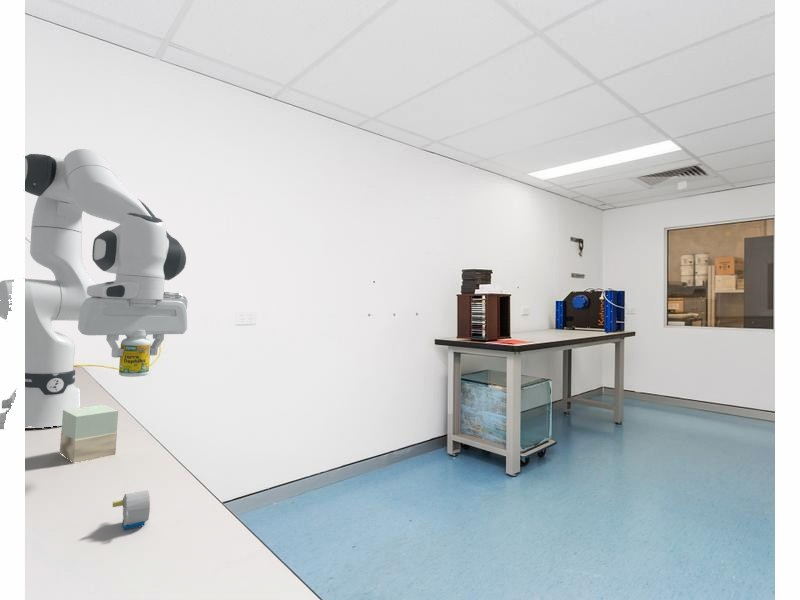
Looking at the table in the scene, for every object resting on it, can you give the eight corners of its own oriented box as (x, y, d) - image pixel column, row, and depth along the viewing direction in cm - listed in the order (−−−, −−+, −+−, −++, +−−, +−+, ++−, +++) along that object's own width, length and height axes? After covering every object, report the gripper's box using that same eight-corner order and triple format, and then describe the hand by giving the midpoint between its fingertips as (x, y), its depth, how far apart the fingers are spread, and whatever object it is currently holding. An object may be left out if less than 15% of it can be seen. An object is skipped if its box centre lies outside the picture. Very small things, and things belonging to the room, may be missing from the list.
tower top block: (61, 432, 97) (63, 409, 97) (102, 425, 103) (103, 404, 103) (74, 440, 92) (76, 416, 92) (116, 432, 99) (118, 410, 99)
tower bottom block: (59, 455, 96) (61, 432, 96) (100, 446, 103) (101, 425, 103) (73, 464, 92) (75, 440, 92) (115, 454, 98) (116, 432, 98)
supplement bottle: (147, 372, 94) (150, 328, 95) (149, 376, 90) (152, 330, 90) (118, 373, 92) (121, 327, 92) (118, 377, 87) (122, 330, 87)
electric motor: (109, 520, 70) (111, 489, 70) (143, 513, 73) (145, 483, 73) (112, 540, 64) (115, 506, 64) (149, 531, 67) (151, 499, 67)
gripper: (180, 293, 101) (176, 351, 101) (77, 286, 85) (72, 357, 84) (195, 294, 98) (190, 355, 98) (90, 287, 81) (85, 361, 81)
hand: (134, 356), depth 91 cm, fingers closed on supplement bottle, 5 cm apart
